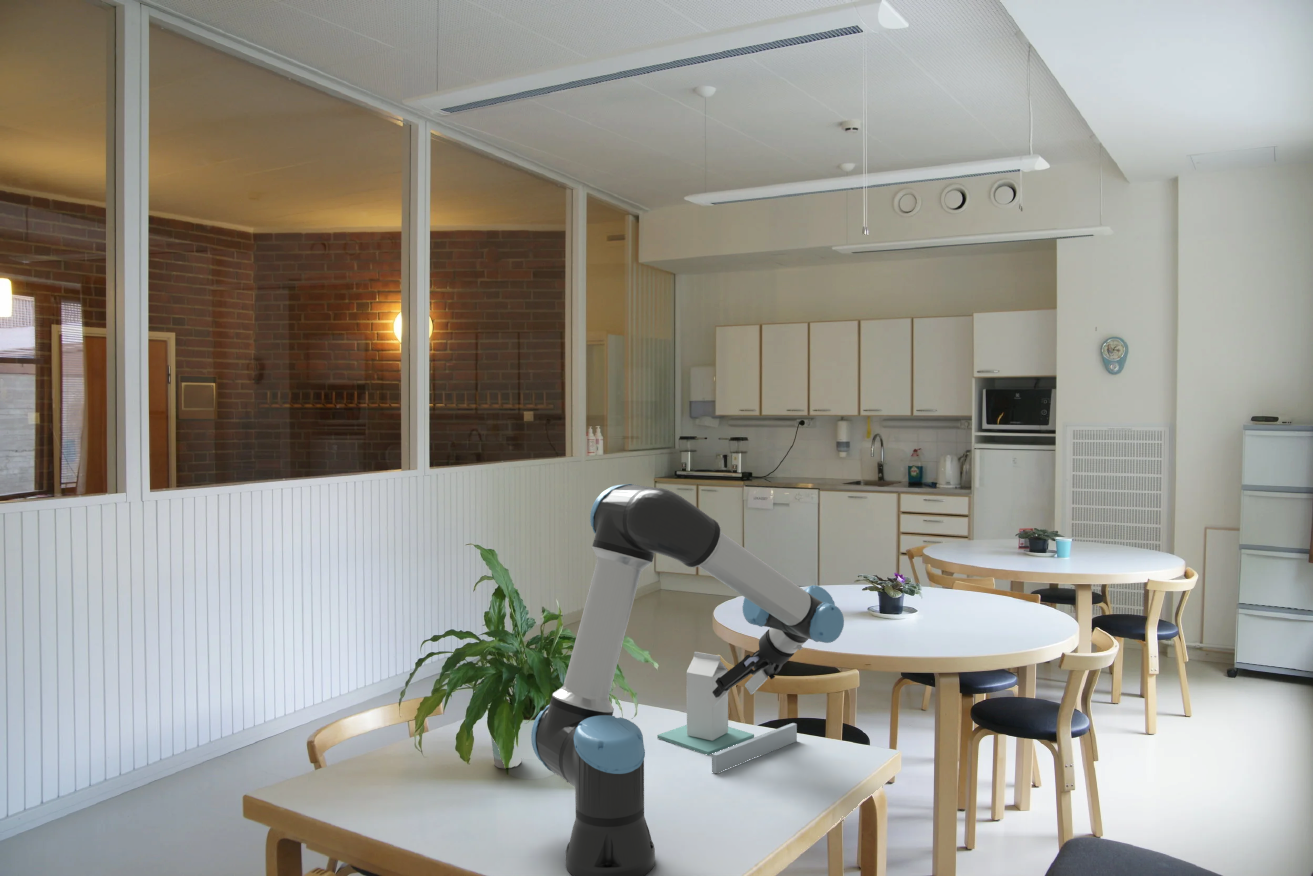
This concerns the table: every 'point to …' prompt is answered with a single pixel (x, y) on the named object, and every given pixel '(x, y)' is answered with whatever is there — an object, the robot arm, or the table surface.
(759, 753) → the acrylic wall
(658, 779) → the table surface
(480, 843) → the table surface
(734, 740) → the teal board
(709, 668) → the milk carton
